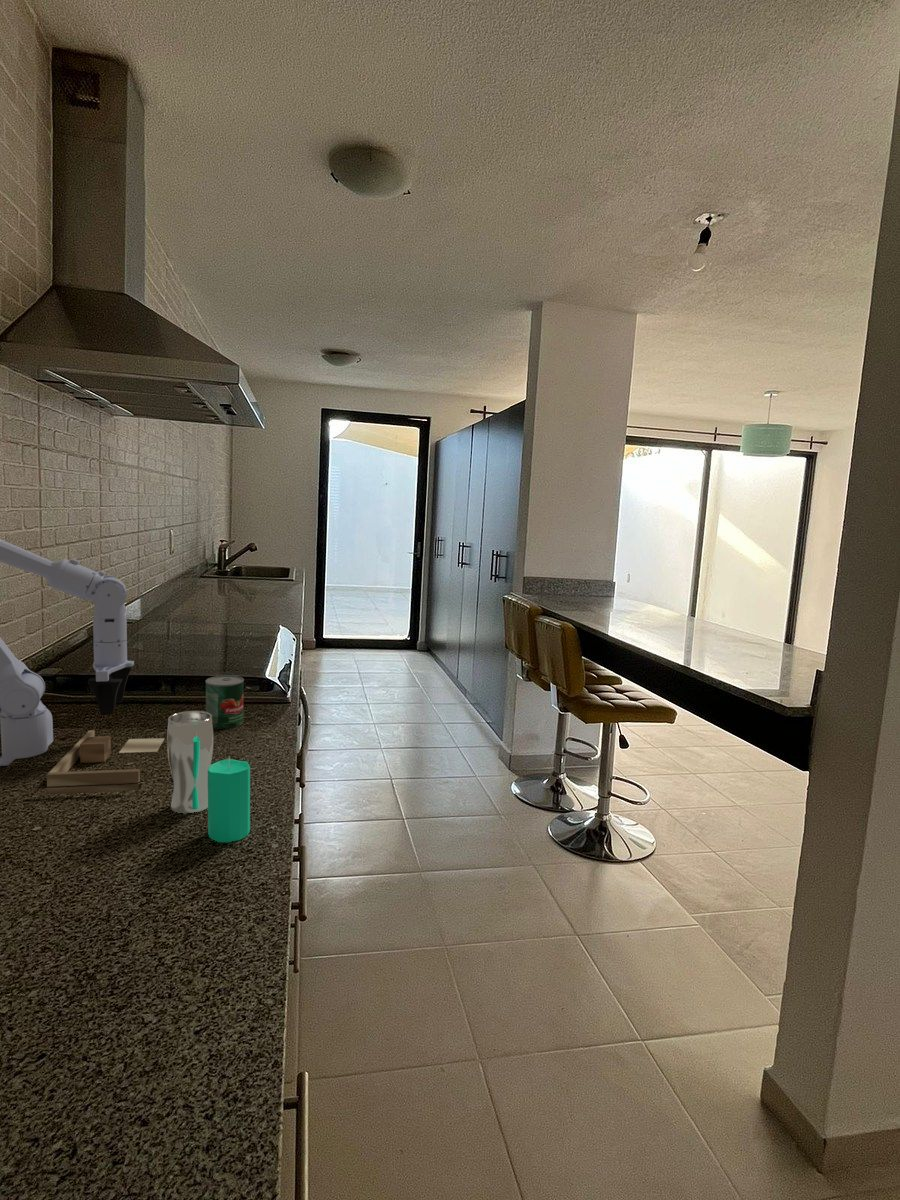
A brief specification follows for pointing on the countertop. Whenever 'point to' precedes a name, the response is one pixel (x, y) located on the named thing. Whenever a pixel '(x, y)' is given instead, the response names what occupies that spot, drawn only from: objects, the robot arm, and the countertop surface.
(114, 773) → the wooden flat frame
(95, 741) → the block
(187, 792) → the beer glass
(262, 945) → the countertop surface
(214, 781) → the candle
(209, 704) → the canned tomato
